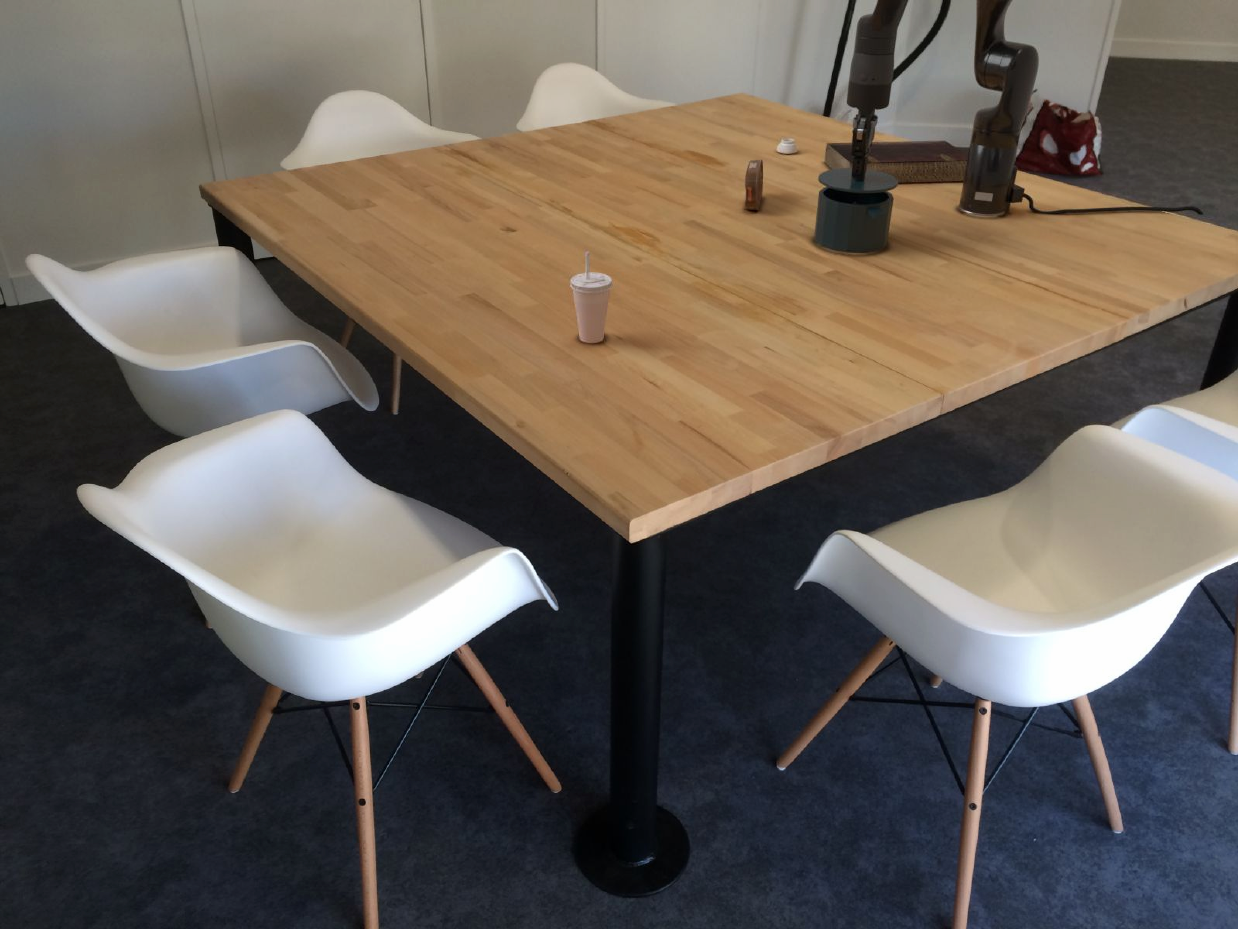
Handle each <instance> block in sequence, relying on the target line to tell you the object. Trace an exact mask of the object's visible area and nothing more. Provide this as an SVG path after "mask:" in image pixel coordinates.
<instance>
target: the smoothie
mask: <svg viewBox="0 0 1238 929" xmlns="http://www.w3.org/2000/svg"><path fill="white" fill-rule="evenodd" d="M570 288H571V289H572V295H573V301H574V307H575V314H576V321H577V330H578V335H579V340H580V341H581V342H583V343H586V344H597V343H598V344H599V343H600V342H603V341H604V337H605V330H606V324H607V323H606V322H607V314H608V306H609V300H610V292H611V289H612V288H613V278H612V277H611V276H610V275H608V274H605V273H602V272H595V271H593V272H590V251H585V272H582V273H578V274H574V275H573V276H572V277H571V278H570Z"/></svg>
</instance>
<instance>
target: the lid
mask: <svg viewBox="0 0 1238 929" xmlns="http://www.w3.org/2000/svg"><path fill="white" fill-rule="evenodd" d="M867 154H868V153H867ZM867 157H868V156H867ZM867 157H866V163H865V171H864V176H863V178H862V179H859V178H852V176H851V174H852V168H842V169H833V170H832V169H829V170H824V171H823V172H821V173H819V174H818V177H817V180H818V182H819V184H821V185H822V186H824V187H829V188H832V189H836V190H840V191H845V192H852V193H878V192H885V191H888V192H889V191H892V190H895V189H896V188H897V187H898V185H899V182H898V180H897V179H896V178H895V177H893V176H891V175H889V174H887V173H883V172H879V171H875V170H868V169H866V165H867Z"/></svg>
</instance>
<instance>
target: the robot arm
mask: <svg viewBox="0 0 1238 929" xmlns="http://www.w3.org/2000/svg"><path fill="white" fill-rule="evenodd" d="M909 1H910V0H877V2H876V4H875V7H874V9H873V12H872V13H867V14H863V15H862V16H861V17H860V18H859V19H858V20H857V24H856V29H855V36H854V46H853V54H852V58H851V63H850V68H849V76H848V77H849V78H848V85H847V94H846V104H847V106H849V107H850V108H853V109H857V111H858V112H857V114H855V116H854V117H853V120H852V128H853V129H852V131H851V132H852V136H851V137H852V138H851V143H852V152H851V154H852V156H853V157H854V158H853V166H852V174H851V176H852V178H859V179H862V178H863V176H864V171H865V163H866V157H867V156H868V154H867V153H869V152H870V150H871V148H870V147H871V146H872V142H874V139H875V135H876V127H877V125H878V120H879V116H878V114H876V111H878V110H883V109H887V108H888V107H889V105H890V101H891V100H890V99H891V93H892V85H893V79H894V78H893V77H894V70H895V51H896V45H897V44H896V43H897V37H898V30H899V26H900V24H901V22H902V19H903V16H904V14H905V11H906V9H907V6H908V3H909ZM1012 2H1013V0H975V35H974V36H975V37H974V54H973V72H974V80H975V81H976V83H977V84H978V86H979V87H981V88H983V89H985V90H990V91H995V92H1000V93H1001V94H1000V98H999V101H998V103H997V104H995V105H993V106H989V107H988V106H987V107H984V108H979V109H978V110H977V111H976V113H975V116H974V120H973V126H972V132H971V137H970V143H969V148H968V154H967V155H968V159H967V164H966V170H965V176H964V181H962V188H961V192H960V198H959V204H958V206H957V207H958V208H957V209H958V211H959V212H961V213H962V214H970V215H974V216H982V217H995V216H996V217H998V218H999V217H1002V216H1004V215H1006V214H1009V213H1010V208H1011V204H1018V203H1023V198H1024V199H1026V200H1027V201H1028V208H1029V210H1030V211H1031V212H1032V213H1035V214H1040V215H1062V214H1087V213H1106V212H1108V213H1109V212H1131V211H1132V212H1134V211H1135V212H1140V211H1141V212H1142V211H1144V212H1168V213H1169V212H1170V213H1176V212H1184V211H1185V212H1186V211H1193V212H1195V213H1197V215H1200V216H1204V213H1203V211H1202V210H1201V209H1200V208H1199V207H1196V206H1194V205H1193V206H1192V205H1190V206H1189V205H1186V206H1178V207H1166V206H1165V207H1163V206H1116V207H1115V206H1114V207H1094V208H1093V207H1091V208H1065V209H1057V210H1047V211H1046V210H1045V211H1043V210H1039V209H1037V208H1036V207H1034V200H1033V198H1032V197H1031V196H1030V195H1029V194H1028V193H1025V188H1024V187H1022V186H1020V185H1018V184H1015V183H1016V179H1017V174H1018V166H1016V165H1015V162H1016V157H1017V152H1018V147H1019V142H1020V137H1021V132H1022V128H1023V123H1024V120H1025V118H1026V116H1027V113H1028V111H1029V108H1030V103H1031V99H1032V94H1033V92H1034V87H1035V83H1036V80H1037V75H1038V71H1039V65H1040V64H1039V63H1040V56H1039V52H1038V50H1037V48H1036V47H1035V46H1033V45H1032V44H1031V45H1030V44H1027V43H1021V42H1017V41H1011V40H1007V39H1006V37H1005V20H1006V15H1007V11H1008V9H1009V7H1010V6H1011V3H1012ZM867 161H868V157H867ZM866 169H867V165H866Z"/></svg>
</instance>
